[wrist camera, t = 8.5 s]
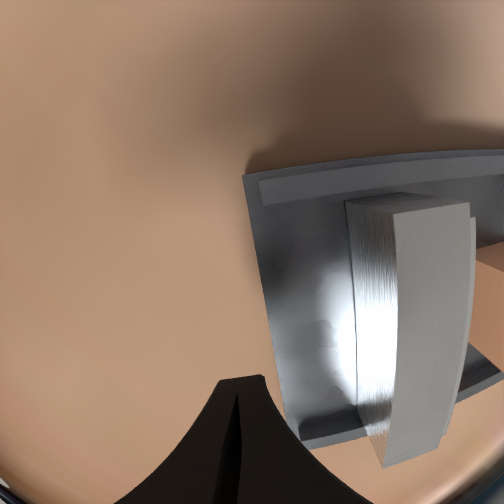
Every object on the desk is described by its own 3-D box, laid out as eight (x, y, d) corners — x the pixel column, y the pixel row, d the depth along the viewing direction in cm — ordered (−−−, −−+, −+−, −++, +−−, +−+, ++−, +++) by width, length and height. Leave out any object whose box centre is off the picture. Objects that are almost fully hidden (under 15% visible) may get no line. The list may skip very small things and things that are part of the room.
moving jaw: (414, 191, 11) (478, 200, 7) (411, 393, 13) (445, 444, 9) (344, 200, 11) (393, 214, 7) (357, 410, 13) (382, 468, 9)
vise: (548, 149, 11) (605, 152, 6) (536, 341, 14) (576, 371, 9) (242, 175, 12) (239, 173, 7) (288, 432, 15) (299, 503, 10)
